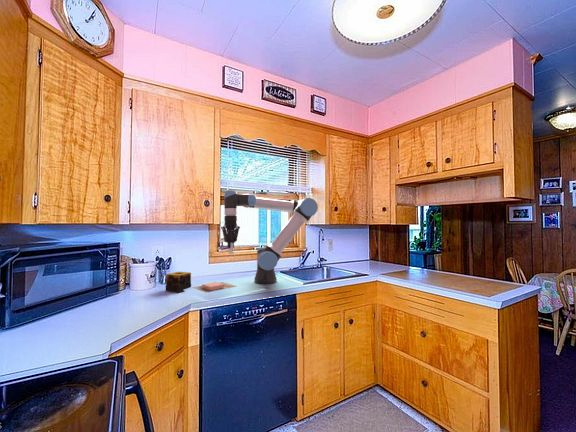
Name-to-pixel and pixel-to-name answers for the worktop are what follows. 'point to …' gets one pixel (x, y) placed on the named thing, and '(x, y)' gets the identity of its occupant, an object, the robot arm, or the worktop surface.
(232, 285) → the board
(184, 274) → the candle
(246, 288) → the worktop surface
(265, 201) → the robot arm
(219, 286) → the tile
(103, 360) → the worktop surface
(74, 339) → the worktop surface
